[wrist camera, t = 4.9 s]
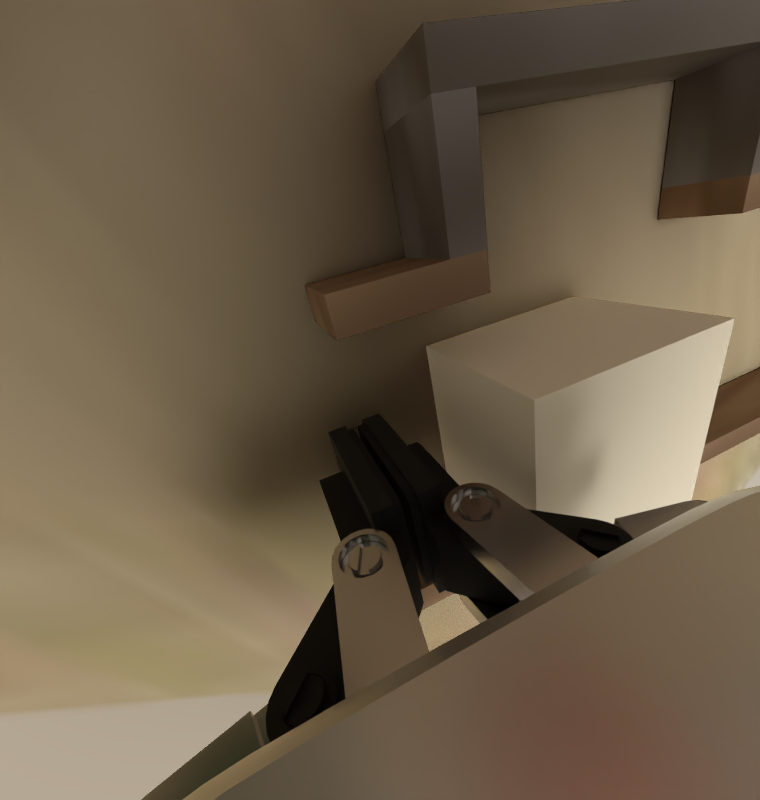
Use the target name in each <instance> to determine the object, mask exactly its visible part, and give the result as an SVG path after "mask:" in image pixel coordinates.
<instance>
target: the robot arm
mask: <svg viewBox="0 0 760 800" xmlns="http://www.w3.org/2000/svg"><path fill="white" fill-rule="evenodd" d="M362 423H363V424H362V425H359V426H358V431H359V435H360V438H359V436H358V435H357V433H356V432H355V430H354V429H353V428H351V429H349V430H347V428H346V427H345V426H343V427H341V428H338V429H335V430H333V431H330V432H328V433H329V437H330V440H331V443H332V446H333V450H334V453H335V456H336V459H337V462H338V465H339V468H340V471H341V472H340V473H337V474H335V475H332V476H330V477H327V478H324V479H322V480H319V481H320V484H321V487H322V489H323V492H324V495H325V498H326V501H327V503H328V506H329V509H330V512H331V515H332V517H333V520H334V523H335V526H336V529H337V531H338V534H339V537H340V540H341V542H340V543H339V545H338V546H337V547H336V549H335V551H334V554H333V556H332V574H333V583H334V584H333V586H332V588H331V589H330V591H329V593H328V595H327V596H326V598H325V600H324V602H323V603H322V605H321V607H320V609H319V610H318V612H317V614H316V616H315V617H314V619H313V621H312V623H311V624H310V626H309V628H308V630H307V632H306V633H305V635H304V637H303V639H302V640H301V642H300V644H299V646H298V647H297V649H296V651H295V653H294V654H293V656H292V658H291V660H290V661H289V663H288V665H287V667H286V668H285V670H284V672H283V674H282V675H281V677H280V679H279V681H278V682H277V684H276V686H275V688H274V690H273V693H272V695H271V697H270V699H269V702H268V704H267V705H266V706H265V707H263V708H262V709H261V710H260V711H259V712H257V713H256V714H255V715H253V714H252V713H251V711H250V712H249V713H247V714H246V715H245V716H244V717H242V718H241V719H240V720H239V721H238V722H236V723H235V724H234V725H233V726H231V727H230V728H229V729H228V730H226V731H225V732H224V733H223V734H222V735H220V736H219V737H218V738H217V739H215V740H214V741H213V742H211V744H209V745H208V746H207V747H205V748H204V749H203V750H202V751H200V752H199V753H198V754H197V755H196V756H194V757H193V758H192V759H191V760H189V761H188V762H187V763H186V764H184V765H183V766H182V767H181V768H179V769H178V770H177V771H176V772H174V773H173V774H172V775H171V776H170V777H168V778H167V779H166V780H165V781H163V782H162V783H161V784H160V785H158V786H157V787H156V788H155V789H154V790H152V791H151V792H150V793H149V794H147V795H146V796H145V797H144V798H143V799H142V800H760V486H756V487H752V488H748V489H743V490H740V491H736V492H733V493H730V494H727V495H724V496H721V497H718V498H715V499H713V500H711V501H709V502H708V501H701V500H693V501H685V502H681V503H677V504H672V505H668V506H664V507H660V508H656V509H652V510H648V511H644V512H640V513H636V514H632V515H628V516H624V517H619V518H615V521H614V524H611V523H609V522H605V521H601V520H597V519H591V518H584V517H577V516H571V515H564V514H557V513H550V512H544V511H537V510H530V509H526V508H524V507H523V506H522V505H520V504H519V503H517V502H516V501H514V500H513V499H511V498H510V497H508V496H507V495H505V494H504V493H503V492H501V491H500V490H498V489H496V488H494V487H492V486H491V485H487V484H483V483H467V484H462V485H460V486H459V484H458V483H457V482H456V481H455V480H454V479H453V478H452V477H451V476H450V475H449V474H448V473H447V472H446V471H445V470H444V469H443V468H442V467H441V466H440V464H439V463H438V462H437V461H436V460H435V459H434V458H433V457H432V456H431V455H430V454H429V453H428V452H427V451H426V450H425V449H424V448H423V447H422V445H421V444H419V443H418V442H415V443H412V444H410V445H406V444H405V443H404V442H403V441H402V439H401V438H400V437H399V436H398V435H397V434H396V432H395V431H394V430H393V429H392V428H391V427H390V426H389V424H388V423H387V422H386V421H385V420H384V419H383V418H382V416H381V415H380V414H376V415H373V416H371V417H368V418H365V419H363V420H362ZM418 571H419V573H420V575H421V577H422V578H423V580H424V582H425V583H426V584H429V583H431V582H433V584H434V585H435V587H436V589H437V591H438V592H439V593H441V592H443V591H445V590H446V591H448V592H452V593H456V594H459V595H460V599H461V600H462V602H463V604H464V605H465V606H466V608H467V609H468V610H469V611H470V612H471V613H472V615H473V616H474V617H475V618H476V619H477V620H478V622H479V623H480V624H479V625H477V626H475V627H473V628H471V629H470V630H468V631H466V632H464V633H462V634H461V635H459V636H457V637H455V638H453V639H452V640H450V641H448V642H446V643H444V644H443V645H441V646H439V647H437V648H435V649H434V650H432V651H430V652H429V650H428V646H427V643H426V640H425V637H424V634H423V631H422V628H421V624H420V621H419V616H420V613H421V610H422V607H423V604H424V601H423V597H422V593H421V589H420V588H421V583H420V579H419V575H418Z"/></svg>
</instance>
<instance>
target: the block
mask: <svg viewBox="0 0 760 800" xmlns="http://www.w3.org/2000/svg"><path fill="white" fill-rule="evenodd" d="M734 319H735V318H731V317H724V316H716V315H709V314H701V313H694V312H686V311H679V310H671V309H664V308H656V307H649V306H641V305H634V304H626V303H619V302H611V301H604V300H596V299H588V298H581V297H573V296H572V297H569V298H567V299H564V300H561V301H558V302H555V303H552V304H549V305H546V306H543V307H540V308H537V309H534V310H531V311H528V312H525V313H522V314H519V315H516V316H513V317H510V318H507V319H504V320H502V321H499V322H496V323H493V324H490V325H487V326H484V327H481V328H478V329H475V330H472V331H469V332H466V333H463V334H460V335H457V336H454V337H451V338H448V339H445V340H442V341H439V342H436V343H434V344H431V345H428V346H426V350H427V356H428V362H429V368H430V375H431V381H432V387H433V393H434V399H435V406H436V412H437V418H438V424H439V430H440V437H441V443H442V449H443V455H444V462H445V468H446V472H447V473H448V474H449V475H450V476H451V477H452V478H453V479H454V480H455V481H456V482H457V483H458V484H459V486H460V485H462V484H467V483H483V484H487V485H491V486H492V487H494V488H496V489H498V490H500V491H501V492H503V493H504V494H505V495H507V496H508V497H510V498H511V499H513V500H514V501H516V502H517V503H519V504H520V505H522V506H523V507H524V508H526V509H530V510H537V511H544V512H550V513H557V514H564V515H571V516H577V517H584V518H591V519H597V520H601V521H605V522H609V523H611V524H614V521H615V518H619V517H624V516H628V515H632V514H636V513H640V512H644V511H648V510H652V509H656V508H660V507H664V506H668V505H672V504H677V503H681V502H685V501H691V499H692V495H693V491H694V487H695V483H696V479H697V474H698V470H699V466H700V462H701V458H702V453H703V449H704V445H705V441H706V437H707V432H708V428H709V424H710V420H711V416H712V412H713V407H714V403H715V399H716V395H717V391H718V386H719V382H720V378H721V374H722V370H723V366H724V361H725V357H726V353H727V349H728V345H729V340H730V336H731V332H732V328H733V324H734Z"/></svg>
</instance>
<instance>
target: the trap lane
mask: <svg viewBox="0 0 760 800" xmlns="http://www.w3.org/2000/svg"><path fill="white" fill-rule="evenodd" d="M675 79H676V81H675V89H674V97H673V105H672V113H671V121H670V129H669V137H668V144H667V152H666V160H665V168H664V176H663V184H662V192H661V200H660V208H659V216H658V219H670V218H684V217H697V216H710V215H723V214H736V213H744V212H747V211H750V210H754V209H757V208H760V0H631V1H622V2H613V3H603V4H594V5H585V6H576V7H566V8H557V9H548V10H538V11H529V12H520V13H511V14H501V15H492V16H483V17H473V18H464V19H455V20H446V21H436V22H427V23H422V25H421V26H420V27H419V28H418V29H417V31H416V32H415V33H414V34H413V36H412V37H411V38H410V39H409V41H408V42H407V43H406V44H405V45H404V47H403V48H402V49H401V50H400V52H399V53H398V54H397V55H396V57H395V58H394V59H393V60H392V61H391V63H390V64H389V65H388V66H387V68H386V69H385V70H384V71H383V73H382V74H381V75H380V76H379V78H378V79H377V80H376V87H377V93H378V99H379V105H380V111H381V117H382V123H383V129H384V135H385V141H386V147H387V152H388V158H389V164H390V170H391V176H392V182H393V188H394V194H395V200H396V206H397V212H398V218H399V224H400V230H401V236H402V242H403V247H404V253H405V258H403V259H399V260H395V261H392V262H388V263H384V264H381V265H377V266H373V267H369V268H366V269H362V270H358V271H355V272H351V273H347V274H344V275H340V276H336V277H333V278H329V279H325V280H322V281H318V282H314V283H311V284H307V285H305V288H306V291H307V295H308V298H309V301H310V305H311V308H312V312H313V315H314V318H315V321H316V322H317V323H318V324H319V325H320V326H321V327H322V328H323V329H325V330H326V331H327V332H328V333H329V334H330V335H331V336H332V337H334V338H335V339H336V340H340V339H343V338H346V337H349V336H353V335H356V334H359V333H362V332H365V331H369V330H372V329H375V328H378V327H381V326H384V325H388V324H391V323H394V322H397V321H400V320H404V319H407V318H410V317H413V316H416V315H419V314H423V313H426V312H429V311H432V310H435V309H439V308H442V307H445V306H448V305H451V304H454V303H458V302H461V301H464V300H467V299H470V298H474V297H477V296H480V295H483V294H486V293H489V292H490V278H489V264H488V249H487V235H486V221H485V207H484V192H483V178H482V164H481V150H480V135H479V121H478V115H481V114H486V113H492V112H498V111H503V110H509V109H514V108H520V107H525V106H531V105H536V104H542V103H547V102H553V101H559V100H564V99H570V98H575V97H581V96H586V95H592V94H597V93H603V92H609V91H614V90H620V89H625V88H631V87H636V86H642V85H647V84H653V83H658V82H664V81H670V80H675ZM759 433H760V368H759V369H756V370H754V371H752V372H750V373H748V374H746V375H743V376H741V377H739V378H737V379H735V380H733V381H730V382H728V383H726V384H724V385H722V386H720V387H718V391H717V395H716V399H715V403H714V407H713V412H712V416H711V420H710V424H709V428H708V432H707V437H706V441H705V445H704V449H703V453H702V458H701V462H700V464H701V463H703V462H705V461H707V460H709V459H711V458H713V457H715V456H717V455H719V454H720V453H722V452H724V451H726V450H728V449H730V448H732V447H734V446H736V445H738V444H740V443H741V442H743V441H745V440H747V439H749V438H751V437H753V436H755V435H757V434H759ZM418 575H419V579H420V583H421V588H420V589H421V593H422V597H423V601H424V604H423V607H422V610H423V609H425V608H427V607H429V606H431V605H433V604H435V603H436V602H438V601H440V600H442V599H444V598H446V597H448V596H450V595H452V594H454V593H452V592H448V591H446V590H445V591H443V592H441V593H439V592H438V591H437V589H436V587H435V585H434V584H433V582H431V583H429V584H426V583H425V582H424V580H423V578H422V577H421V575H420V573H419V571H418Z"/></svg>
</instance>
